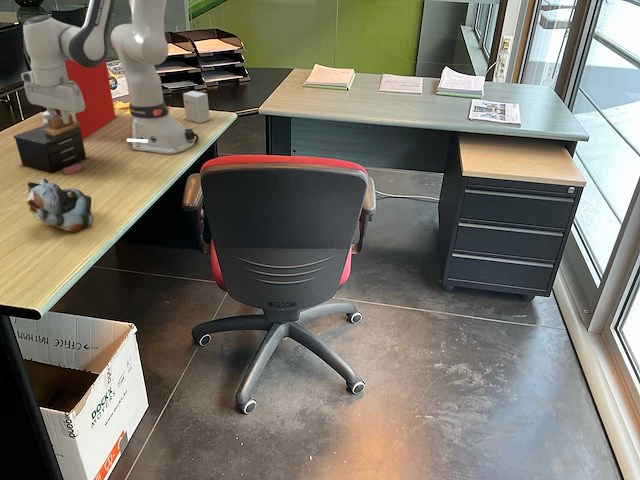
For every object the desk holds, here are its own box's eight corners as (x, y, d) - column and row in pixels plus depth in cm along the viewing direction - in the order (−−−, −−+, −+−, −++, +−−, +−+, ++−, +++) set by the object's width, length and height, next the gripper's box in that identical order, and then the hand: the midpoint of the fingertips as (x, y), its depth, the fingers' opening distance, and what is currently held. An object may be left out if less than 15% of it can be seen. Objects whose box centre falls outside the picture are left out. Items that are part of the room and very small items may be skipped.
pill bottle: (68, 136, 194) (59, 110, 188) (56, 142, 190) (47, 116, 185) (58, 133, 196) (49, 108, 190) (46, 139, 193) (36, 114, 187)
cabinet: (88, 159, 178) (82, 129, 173) (53, 174, 167) (45, 143, 162) (58, 151, 183) (51, 122, 178) (21, 165, 172) (13, 135, 167)
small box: (210, 119, 216) (207, 93, 211) (200, 123, 212) (197, 96, 207) (195, 116, 220) (192, 90, 214) (185, 119, 216) (182, 93, 210)
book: (81, 139, 194) (62, 46, 177) (60, 137, 194) (39, 45, 178) (117, 116, 217) (103, 32, 200) (98, 114, 218) (82, 31, 201)
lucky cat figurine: (92, 232, 137) (54, 197, 126) (51, 249, 138) (10, 216, 128) (97, 193, 147) (62, 157, 136) (59, 209, 148) (21, 175, 138)
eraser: (78, 168, 172) (77, 164, 171) (81, 169, 171) (80, 165, 170) (64, 172, 169) (63, 168, 168) (67, 174, 167) (66, 170, 167)
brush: (81, 132, 169) (78, 113, 166) (55, 142, 162) (51, 122, 159) (71, 129, 171) (67, 111, 168) (45, 139, 163) (40, 120, 160)
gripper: (85, 78, 156) (94, 124, 163) (34, 69, 163) (45, 114, 170) (67, 83, 151) (78, 130, 158) (16, 74, 158) (28, 119, 165)
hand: (60, 122), depth 164 cm, fingers closed on brush, 2 cm apart
